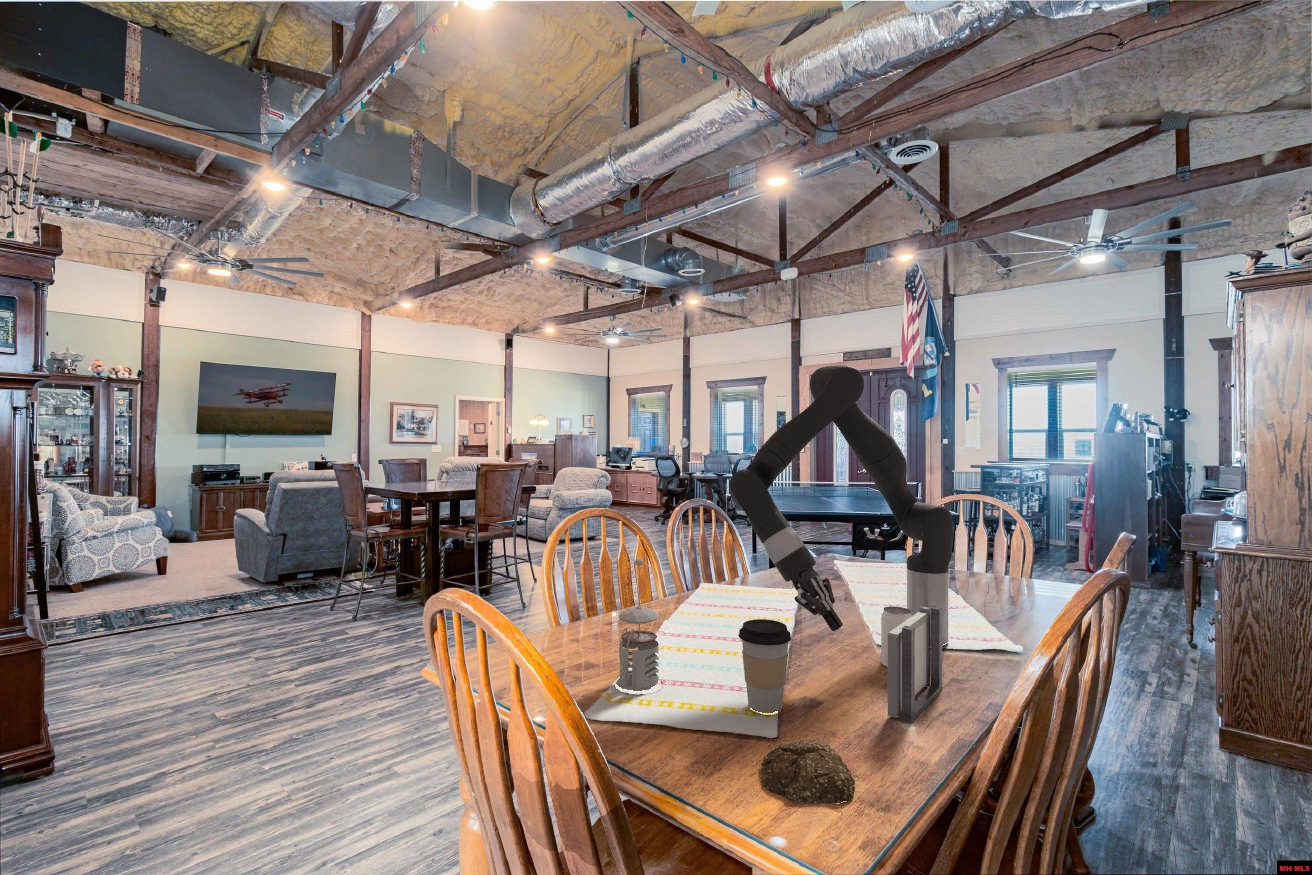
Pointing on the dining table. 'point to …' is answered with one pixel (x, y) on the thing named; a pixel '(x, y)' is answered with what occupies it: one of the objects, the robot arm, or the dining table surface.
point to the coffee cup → (765, 663)
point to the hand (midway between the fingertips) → (838, 628)
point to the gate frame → (909, 704)
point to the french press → (647, 646)
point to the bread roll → (808, 773)
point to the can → (891, 626)
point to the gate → (921, 658)
